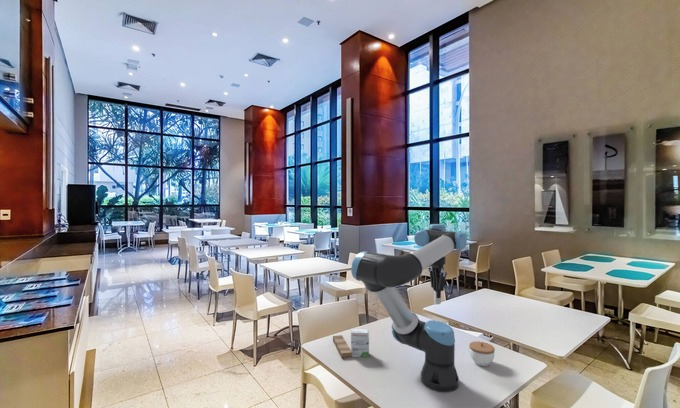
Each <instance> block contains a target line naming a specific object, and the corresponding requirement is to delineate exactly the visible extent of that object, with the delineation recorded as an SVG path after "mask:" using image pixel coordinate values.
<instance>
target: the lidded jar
mask: <svg viewBox="0 0 680 408" xmlns="http://www.w3.org/2000/svg"><path fill="white" fill-rule="evenodd" d="M468 346H469V355H470V358H471V359H472V361H473V362H474V363H475V364H476V365H477V366H480V367H488V366H490V364H492V363H493V361H494V359H495V351H496V349H495V347H494V346H493V345H492V344H491V343H488V342H485V341H480V340H479V341H476V340H475V341H471V342H470V343H469V344H468Z"/></svg>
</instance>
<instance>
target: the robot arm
mask: <svg viewBox="0 0 680 408" xmlns="http://www.w3.org/2000/svg"><path fill="white" fill-rule="evenodd" d="M413 237H414V238H413V241H414V243H415V245H417V246H418V247H420V248H418V249H416V250H414V251H413V252H407V253H404V254H402V255H391V254H384V253H379V252H378V253H377V252H372V251H361V252H358V253H357V254H356V255H355V257H353V259H352V262H351V267H350V271H351V275H352V278H353V279H354V280H356V281H359V282H362V283H363V284H364V286H365V287H366V289H367V291H369V292H371V293H374V294H375V296H376V298H377V299H378V301H379V302H380V304H381V305H382V306H383V309H384V310H385V311H386V313H387V315H388V317H390V319H391V320H392V324H391V334H392V336H393V338H394V339H395V340H396V341H397V342H399V343H400V344H401V345H406V346H409V347H410V348H413V349H416V350H419V351H421V352H424V363H423V366H422V369H421V372H420V381H421V383H422V385H424V386H425V387H426V388H429V389H430V390H432V391H433V390H434V391H436V392H441V393H443V392H445V393H449V392H454V391H456V390H457V389H458V388H459V386H460V378H459V375H458V372H457V369H456V368H457V367H456V366H455V350H456V347H455V345H456V344H455V343H456V340H455V339H456V338H455V331H454V329H453V328H452V326H450V325H449V324H448V323H445V322H444V321H439V320H428V321H424V320H423V321H422V320H420V318H419V316H418V315H417V314H416V313H415V312H414V311H412V310H410V309H409V307H408V305H407V304H406V301H404V298H403V297H402V295H401V293H400V292H399V289H398V288H397V287H400V286H403V285H406V284H409V283H410V282H413V281H414V280H416V279H417V278H419V277H420V276H421V275H422V273H423V271H424V270H425V269H427V268H428V272H429V278H430V287H431V288H432V289H433V304H434V305H441V304H442V303H441V299H442V298H441V297H442V292H443V291H444V290H445V283H446V277H447V274H448V273H447V272H445V269H444V265H446V255H448V254H449V253H451V252H452V251H454V250H455V251H456V250H457V251H458V250H459V251H462V250H464V249H465V248H466V247H467V242H468V241H467V236H466V234H465V233H464V232H459V231H449V230H446V226H445V224H443V223H441V224H440V223H430V225H429V228H428V229H421V230H417V231H416V232H415V233H414V236H413ZM430 266H431V267H430Z"/></svg>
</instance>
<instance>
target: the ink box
mask: <svg viewBox="0 0 680 408" xmlns="http://www.w3.org/2000/svg"><path fill="white" fill-rule="evenodd" d="M369 334H370V333H369V329H362V328H361V329H360V328H357V329H356V328H351V331H350V350H351V352H352V357H351V358H354V357H355V358H369V357H370V339H369V338H370V335H369Z"/></svg>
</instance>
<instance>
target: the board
mask: <svg viewBox="0 0 680 408" xmlns="http://www.w3.org/2000/svg"><path fill="white" fill-rule="evenodd" d="M332 342H333V344H334V346H335V348H336V351H337V353H338V354H339V357H340V358H341V359H343V360H344V359H350V358H353V357H352V352H351V347H349V345H348V343H347V341H346V340H345V338H344V337H343V335H342V334H341V335H339V334H338V335H333V336H332Z"/></svg>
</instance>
